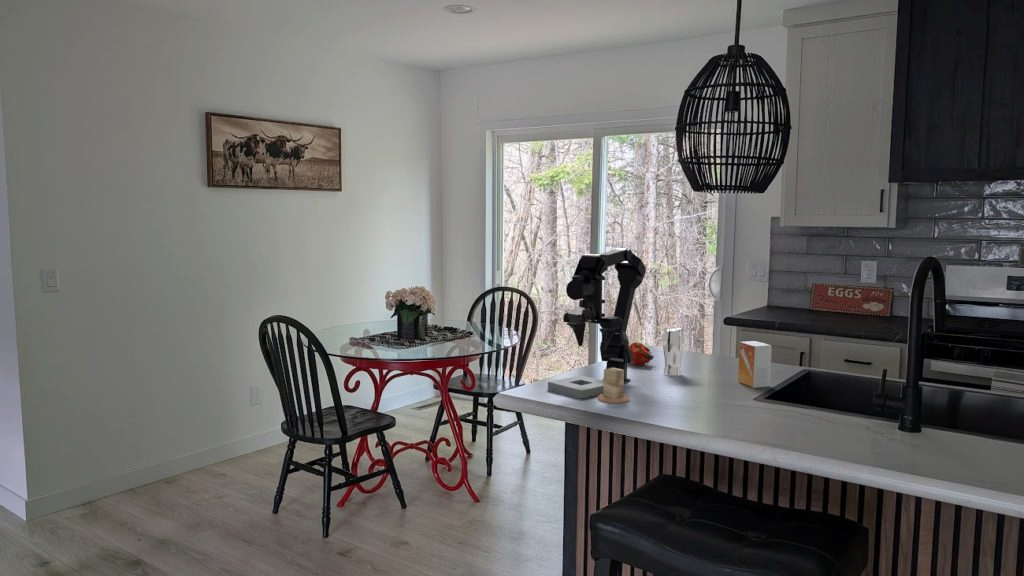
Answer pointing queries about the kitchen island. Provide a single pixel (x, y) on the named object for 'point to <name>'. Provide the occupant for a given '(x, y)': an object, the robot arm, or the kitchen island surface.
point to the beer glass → (673, 350)
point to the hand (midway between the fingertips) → (592, 348)
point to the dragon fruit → (640, 354)
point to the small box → (754, 364)
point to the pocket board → (577, 386)
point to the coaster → (620, 400)
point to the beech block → (613, 383)
